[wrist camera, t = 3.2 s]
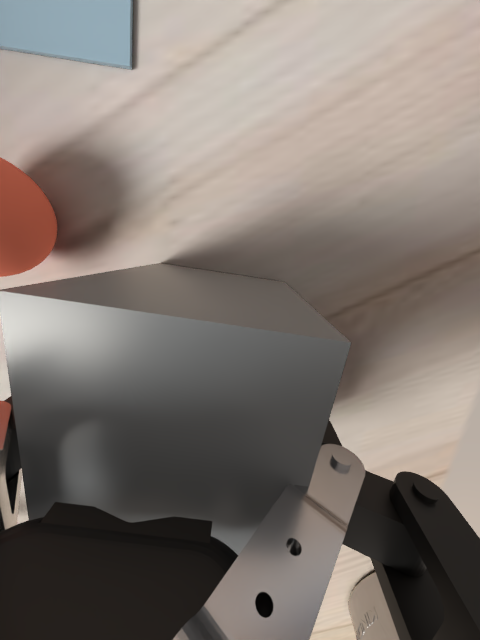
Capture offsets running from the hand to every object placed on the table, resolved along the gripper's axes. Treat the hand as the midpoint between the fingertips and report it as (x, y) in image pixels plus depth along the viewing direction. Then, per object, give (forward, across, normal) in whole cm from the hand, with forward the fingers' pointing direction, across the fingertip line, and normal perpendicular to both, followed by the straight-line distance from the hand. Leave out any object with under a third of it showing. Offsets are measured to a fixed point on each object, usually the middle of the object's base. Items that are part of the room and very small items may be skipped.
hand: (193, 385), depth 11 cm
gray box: (+4, 0, 0) cm, 4 cm away
